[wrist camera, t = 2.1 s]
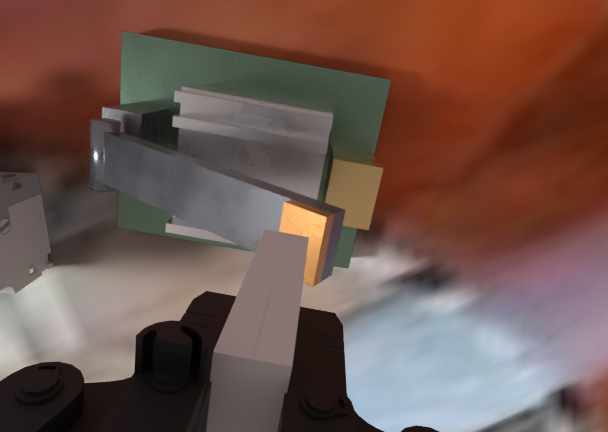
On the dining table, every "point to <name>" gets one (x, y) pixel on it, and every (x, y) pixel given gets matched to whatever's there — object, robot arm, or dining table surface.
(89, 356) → the dining table surface
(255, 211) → the silver elongated bar
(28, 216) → the circuit breaker
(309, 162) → the circuit board
